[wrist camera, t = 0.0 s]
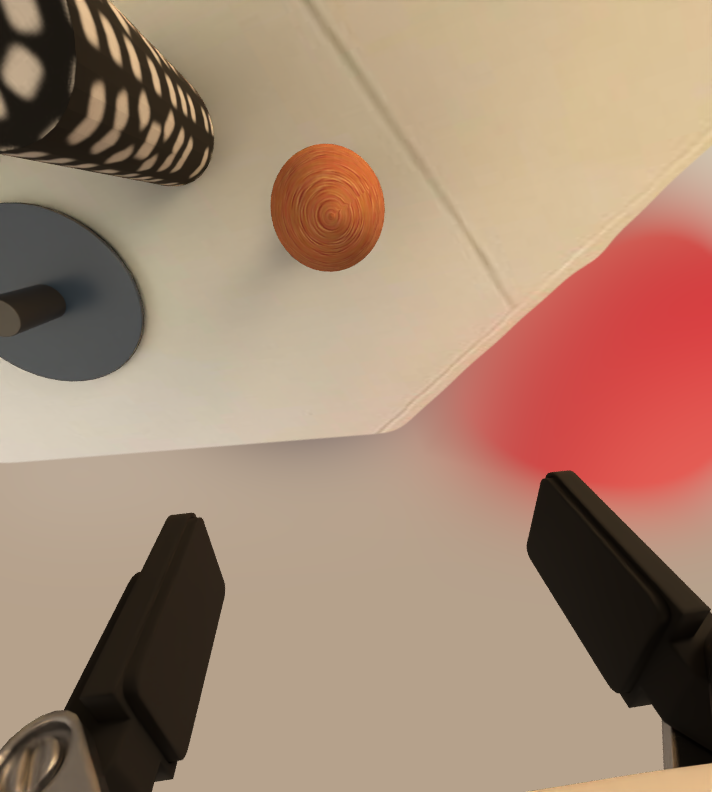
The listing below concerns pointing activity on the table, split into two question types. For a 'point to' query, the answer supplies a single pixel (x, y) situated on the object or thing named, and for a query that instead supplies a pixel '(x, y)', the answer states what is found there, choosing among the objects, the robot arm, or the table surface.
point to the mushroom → (327, 207)
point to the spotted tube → (96, 95)
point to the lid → (63, 297)
